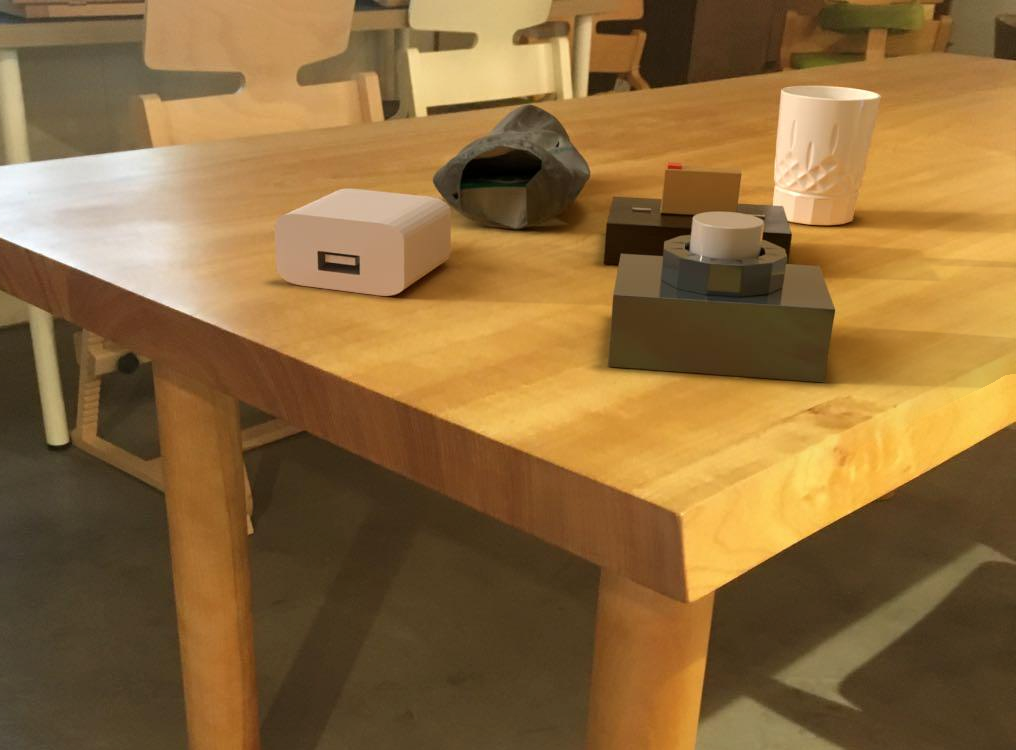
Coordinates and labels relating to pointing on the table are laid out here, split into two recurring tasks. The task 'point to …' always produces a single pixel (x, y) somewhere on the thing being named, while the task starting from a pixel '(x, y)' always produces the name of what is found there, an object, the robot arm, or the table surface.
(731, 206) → the tan block
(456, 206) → the grey pouch
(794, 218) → the white cup
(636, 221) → the panel
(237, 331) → the table surface
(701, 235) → the white push button
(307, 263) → the charger
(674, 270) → the button base box
